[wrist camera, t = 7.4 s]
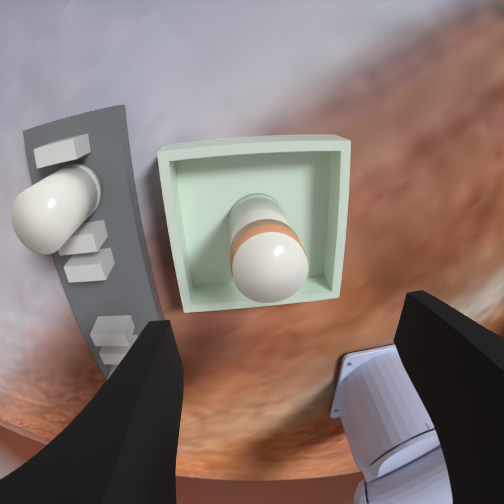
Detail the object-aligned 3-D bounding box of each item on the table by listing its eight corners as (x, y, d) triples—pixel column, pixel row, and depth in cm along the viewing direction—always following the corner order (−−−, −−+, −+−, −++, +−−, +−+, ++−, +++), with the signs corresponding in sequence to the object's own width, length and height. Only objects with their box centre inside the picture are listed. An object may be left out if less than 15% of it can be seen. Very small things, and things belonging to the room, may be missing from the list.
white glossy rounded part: (107, 212, 16) (75, 251, 12) (61, 219, 15) (23, 257, 12) (97, 157, 14) (57, 181, 10) (49, 168, 14) (4, 194, 10)
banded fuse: (283, 244, 18) (306, 301, 13) (228, 246, 18) (232, 306, 13) (285, 191, 17) (312, 234, 12) (226, 193, 16) (229, 237, 12)
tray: (327, 276, 20) (339, 297, 18) (187, 289, 20) (184, 312, 18) (334, 134, 16) (350, 140, 14) (165, 144, 15) (156, 152, 13)
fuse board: (183, 384, 24) (181, 414, 21) (117, 384, 24) (110, 412, 21) (124, 104, 14) (105, 107, 12) (33, 128, 14) (4, 136, 11)
